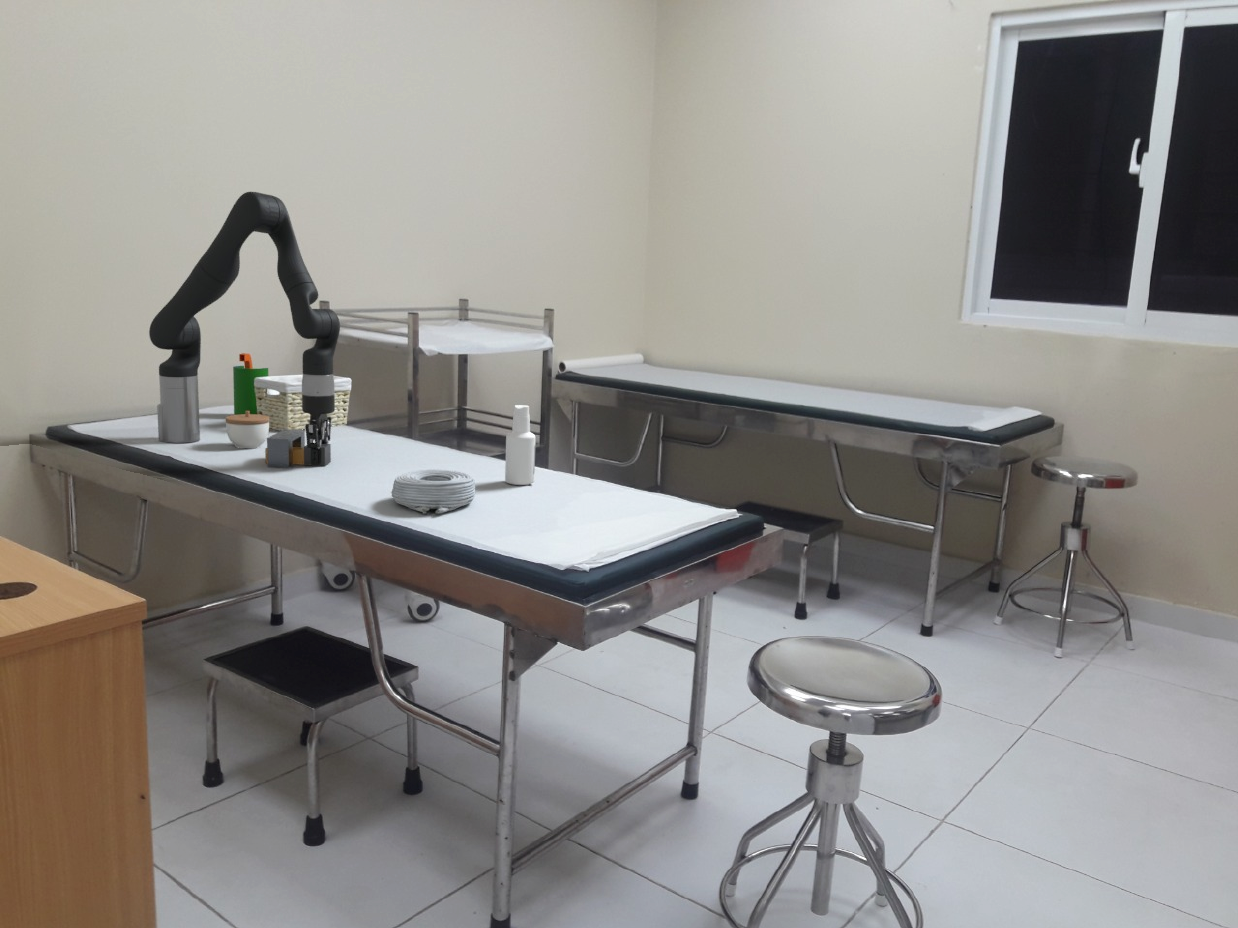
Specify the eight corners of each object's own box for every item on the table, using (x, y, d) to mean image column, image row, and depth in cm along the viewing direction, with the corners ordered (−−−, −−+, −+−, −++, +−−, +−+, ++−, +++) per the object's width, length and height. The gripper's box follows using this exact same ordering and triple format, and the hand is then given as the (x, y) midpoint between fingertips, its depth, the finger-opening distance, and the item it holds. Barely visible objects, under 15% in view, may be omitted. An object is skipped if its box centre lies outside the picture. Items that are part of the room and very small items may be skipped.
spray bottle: (538, 481, 233) (541, 405, 230) (526, 486, 227) (529, 409, 223) (512, 477, 235) (514, 403, 232) (499, 483, 229) (501, 406, 225)
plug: (264, 463, 237) (264, 445, 237) (271, 459, 242) (271, 441, 241) (325, 465, 238) (324, 447, 237) (330, 462, 243) (330, 444, 242)
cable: (434, 517, 197) (435, 487, 196) (372, 502, 206) (372, 474, 205) (491, 502, 211) (492, 474, 210) (431, 489, 221) (431, 463, 219)
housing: (267, 467, 234) (266, 438, 232) (284, 456, 246) (284, 429, 245) (288, 468, 234) (288, 439, 232) (304, 457, 247) (304, 430, 245)
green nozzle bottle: (273, 417, 304) (272, 352, 300) (260, 422, 295) (259, 355, 291) (242, 415, 304) (240, 351, 301) (228, 420, 296) (226, 353, 292)
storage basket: (320, 419, 305) (319, 372, 302) (354, 426, 296) (354, 377, 293) (252, 427, 286) (250, 376, 283) (286, 435, 277) (285, 382, 274)
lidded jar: (251, 452, 251) (250, 415, 249) (217, 447, 254) (215, 411, 252) (278, 445, 261) (278, 410, 259) (245, 441, 264) (244, 406, 262)
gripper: (325, 397, 230) (326, 468, 233) (341, 389, 244) (342, 457, 247) (293, 395, 230) (294, 467, 233) (311, 388, 244) (312, 456, 247)
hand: (319, 461), depth 240 cm, fingers closed on plug, 5 cm apart
